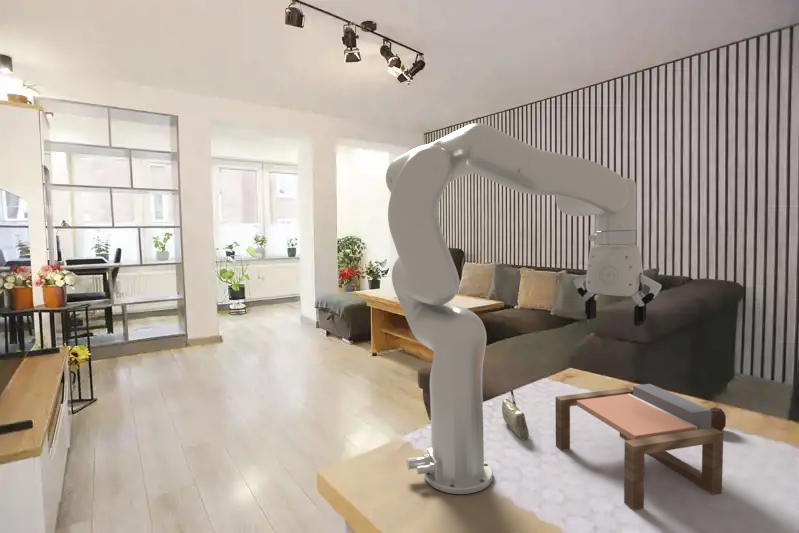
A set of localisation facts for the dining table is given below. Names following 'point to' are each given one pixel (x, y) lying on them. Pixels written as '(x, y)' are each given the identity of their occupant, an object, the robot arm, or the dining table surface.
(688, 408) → the trapdoor
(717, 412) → the bolt
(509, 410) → the cuneiform tablet
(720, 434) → the frame
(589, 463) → the dining table surface
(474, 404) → the robot arm
